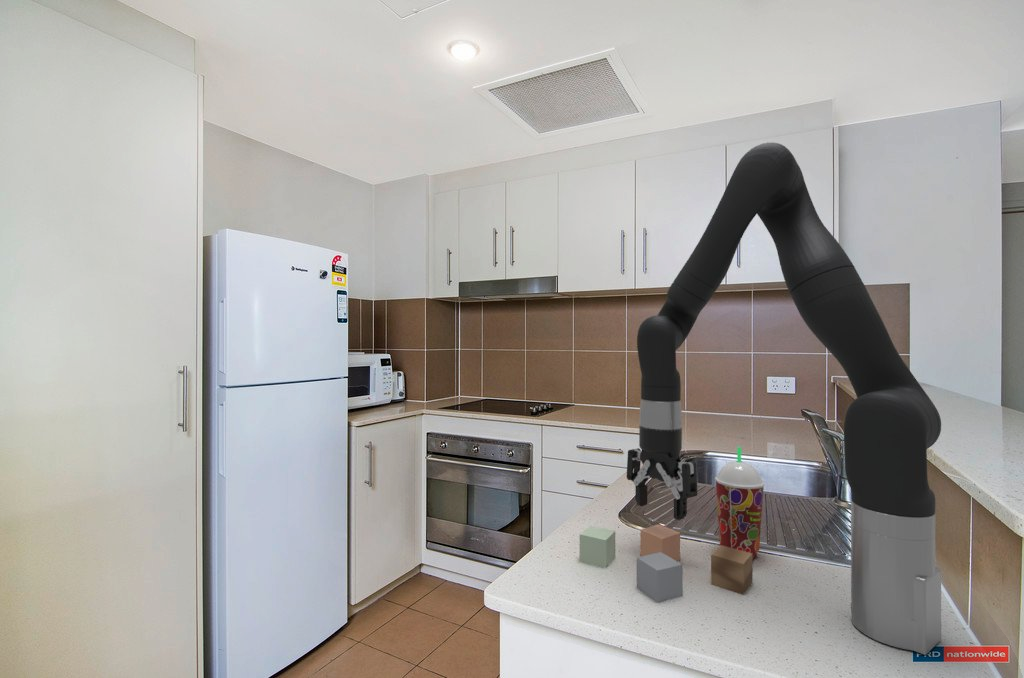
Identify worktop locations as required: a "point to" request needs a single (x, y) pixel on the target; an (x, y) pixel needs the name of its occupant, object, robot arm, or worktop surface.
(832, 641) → the worktop surface
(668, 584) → the grey block
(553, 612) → the worktop surface
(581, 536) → the sage block
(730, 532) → the smoothie
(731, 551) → the walnut block
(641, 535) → the terracotta block
